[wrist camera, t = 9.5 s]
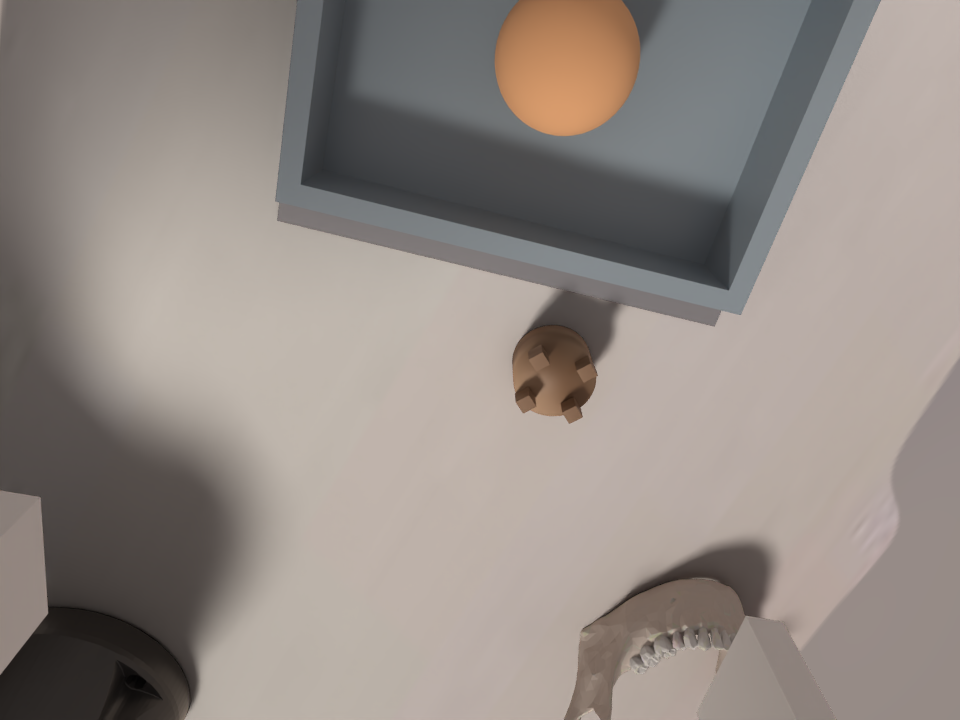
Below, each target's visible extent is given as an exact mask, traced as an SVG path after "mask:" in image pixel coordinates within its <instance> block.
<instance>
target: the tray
mask: <svg viewBox="0 0 960 720" xmlns="http://www.w3.org/2000/svg"><path fill="white" fill-rule="evenodd" d="M518 1H519V0H297V9H296V18H295V27H294V36H293V45H292V54H291V63H290V72H289V81H288V91H287V100H286V109H285V118H284V127H283V136H282V145H281V154H280V163H279V172H278V181H277V190H276V199H275V201H276V202H280V203H284V204H288V205H293V206H297V207H301V208H305V209H309V210H313V211H317V212H321V213H325V214H329V215H333V216H337V217H342V218H346V219H350V220H354V221H358V222H362V223H366V224H370V225H374V226H378V227H382V228H387V229H391V230H395V231H399V232H403V233H407V234H411V235H415V236H419V237H423V238H427V239H432V240H436V241H440V242H444V243H448V244H452V245H456V246H460V247H464V248H468V249H472V250H477V251H481V252H485V253H489V254H493V255H497V256H501V257H505V258H509V259H513V260H517V261H521V262H526V263H530V264H534V265H538V266H542V267H546V268H550V269H554V270H558V271H562V272H566V273H571V274H575V275H579V276H583V277H587V278H591V279H595V280H599V281H603V282H607V283H611V284H616V285H620V286H624V287H628V288H632V289H636V290H640V291H644V292H648V293H652V294H656V295H661V296H665V297H669V298H673V299H677V300H681V301H685V302H689V303H693V304H697V305H701V306H705V307H710V308H714V309H718V310H722V311H726V312H730V313H734V314H738V315H741V313H742V311H743V309H744V307H745V304H746V302H747V300H748V298H749V295H750V293H751V291H752V289H753V286H754V284H755V282H756V280H757V277H758V275H759V273H760V271H761V268H762V266H763V264H764V262H765V259H766V257H767V255H768V253H769V250H770V248H771V246H772V244H773V241H774V239H775V237H776V235H777V232H778V230H779V228H780V226H781V223H782V221H783V219H784V217H785V214H786V212H787V210H788V208H789V205H790V203H791V201H792V199H793V196H794V194H795V192H796V190H797V187H798V185H799V183H800V181H801V178H802V176H803V174H804V172H805V169H806V167H807V165H808V163H809V160H810V158H811V156H812V154H813V151H814V149H815V147H816V145H817V142H818V140H819V138H820V136H821V133H822V131H823V129H824V127H825V124H826V122H827V120H828V118H829V116H830V113H831V111H832V109H833V107H834V104H835V102H836V100H837V98H838V95H839V93H840V91H841V89H842V86H843V84H844V82H845V80H846V77H847V75H848V73H849V71H850V68H851V66H852V64H853V62H854V59H855V57H856V55H857V53H858V50H859V48H860V46H861V44H862V41H863V39H864V37H865V35H866V32H867V30H868V28H869V26H870V23H871V21H872V19H873V17H874V14H875V12H876V10H877V8H878V5H879V3H880V1H881V0H622V1H623V2H624V4H625V5H626V7H627V8H628V9H629V11H630V13H631V15H632V17H633V19H634V22H635V24H636V27H637V31H638V35H639V40H640V64H639V70H638V74H637V78H636V81H635V84H634V86H633V89H632V91H631V93H630V95H629V97H628V98H627V100H626V101H625V103H624V104H623V106H622V107H621V108H620V109H619V110H618V111H617V113H616V114H615V115H614V116H612V117H611V118H610V119H609V120H608V121H606V122H605V123H604V124H602V125H601V126H599V127H597V128H595V129H593V130H591V131H588V132H586V133H583V134H578V135H573V136H555V135H549V134H545V133H542V132H540V131H537V130H535V129H533V128H531V127H529V126H528V125H526V124H525V123H524V122H522V121H521V120H520V119H519V118H518V117H517V116H516V115H515V114H514V113H513V112H512V111H511V109H510V108H509V107H508V105H507V104H506V102H505V100H504V98H503V96H502V94H501V92H500V89H499V86H498V83H497V78H496V73H495V49H496V43H497V39H498V36H499V32H500V30H501V27H502V25H503V23H504V21H505V19H506V17H507V15H508V14H509V12H510V11H511V9H512V8H513V7H514V5H515V4H516V3H517V2H518Z"/></svg>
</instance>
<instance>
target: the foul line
mask: <svg viewBox="0 0 960 720" xmlns="http://www.w3.org/2000/svg"><path fill="white" fill-rule="evenodd" d="M277 221H281V222H285V223H289V224H293V225H297V226H301V227H306V228H310V229H314V230H318V231H322V232H326V233H330V234H335V235H339V236H343V237H347V238H351V239H355V240H359V241H363V242H368V243H372V244H376V245H380V246H384V247H388V248H392V249H396V250H401V251H405V252H409V253H413V254H417V255H421V256H425V257H429V258H434V259H438V260H442V261H446V262H450V263H454V264H458V265H463V266H467V267H471V268H475V269H479V270H483V271H487V272H491V273H496V274H500V275H504V276H508V277H512V278H516V279H520V280H524V281H529V282H533V283H537V284H541V285H545V286H549V287H553V288H557V289H562V290H566V291H570V292H574V293H578V294H582V295H586V296H591V297H595V298H599V299H603V300H607V301H611V302H615V303H619V304H624V305H628V306H632V307H636V308H640V309H644V310H648V311H652V312H657V313H661V314H665V315H669V316H673V317H677V318H681V319H685V320H690V321H694V322H698V323H702V324H706V325H710V326H714V327H715V324H716V322H717V320H718V317H719V315H720V313H721V310H718V309H714V308H710V307H705V306H701V305H697V304H693V303H689V302H685V301H681V300H677V299H673V298H669V297H665V296H661V295H656V294H652V293H648V292H644V291H640V290H636V289H632V288H628V287H624V286H620V285H616V284H611V283H607V282H603V281H599V280H595V279H591V278H587V277H583V276H579V275H575V274H571V273H566V272H562V271H558V270H554V269H550V268H546V267H542V266H538V265H534V264H530V263H526V262H521V261H517V260H513V259H509V258H505V257H501V256H497V255H493V254H489V253H485V252H481V251H477V250H472V249H468V248H464V247H460V246H456V245H452V244H448V243H444V242H440V241H436V240H432V239H427V238H423V237H419V236H415V235H411V234H407V233H403V232H399V231H395V230H391V229H387V228H382V227H378V226H374V225H370V224H366V223H362V222H358V221H354V220H350V219H346V218H342V217H337V216H333V215H329V214H325V213H321V212H317V211H313V210H309V209H305V208H301V207H297V206H293V205H288V204H284V203H280V202H279V209H278V218H277Z"/></svg>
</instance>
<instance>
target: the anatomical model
mask: <svg viewBox="0 0 960 720" xmlns="http://www.w3.org/2000/svg"><path fill="white" fill-rule="evenodd" d="M744 618H745V614H744V611H743V607H742V604H741V601H740V599H739V597H738V595H737V594H736V592H735V591H734V590H733V589H732V588H731V587H729V586H726V585H724V584H721V583H718V582H715V581H712V580H706V579H681V580H676V581H671V582H668V583H665V584H662V585H659V586H656V587H654V588H652V589H650V590H648V591H645V592H642V593H639V594H638V595H636V596H634V597H632V598H631V599H629V600H628V601H626V602H625V603H623V604H622V605H620V606H619V607H618V608H616V609H615V610H613V611H612V612H611V613H609V614H608V615H606V616H604V617H602V618H600V619H598V620H596V621H595V622H593V623H592V624H591V625H590V626H587V627H585V628H584V629H583V630H582V631H581V634H580V643H579V654H578V672H577V681H576V685H575V690H574V693H573V696H572V700H571V703H570V706H569V708H568V711H567V713H566V716H565V718H564V720H580V719H581V716H583V715H585V714H587V713H589V712H591V711H595V712H596V714H597V715H598V716H599V718H600V719H601V720H610V719H611V711H612V689H613V686H614V685H615V683H616V681H617V679H618V678H619V677H620V676H621V675H622V674H623V673H625V672H627V671H629V670H630V669H632V670H633V671H634V672H635V673H636V674H644V673H645V672H646V670H647V669H648V668H649V666H650V667H655V666H656V665H657V663H658V662H659V661H660V659H661V657H662V658H667V659H669V657H670V656H675V655H676V649H677V650H680V649H681V650H682V651H683V650H685V649H686V647H687V648H690V649H693V650H695V649H696V648H697V647H699V648H700V649H702V650H704V651H706V650H708V649H709V648H710V647H711V643H710V638H709V635H710V637H711V641H712V647H713V648H714V649H716V650H720V651H719V656H718V661H717V666H716V673H717V671H718V669H719V667H720V665H721V664H722V662H723V660H724V658H725V656H726V654H727V652H728V650H729V648H730V646H731V644H732V642H733V640H734V638H735V636H736V634H737V632H738V630H739V628H740V626H741V624H742V622H743V620H744ZM695 635H698V640H697V639H696V636H695ZM683 636H684V637H683ZM672 642H673V643H672Z"/></svg>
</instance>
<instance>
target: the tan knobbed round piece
mask: <svg viewBox="0 0 960 720" xmlns="http://www.w3.org/2000/svg"><path fill="white" fill-rule="evenodd" d="M512 364H513V382H514V389H515V392H516V393H515V398H516V403H517V405H518V406H519V408H520V409H521V411H522V412H523V413H525V412H527V411H529V410H532V411H533V412H536V413H538V414H541V415H546V416H561V415H564V416H565V418H566V419H567V421H568V423H569V424H570V423H572V422H574V421H576V420H578V419H580V418H582V417H583V416H582V412H581V408H580V407H581V406H583V405H584V404H585V403H586V402H587V401H588V399H589V398H590V397H591V395H592V393H593V391H594V388H595V384H596V376H598V375H597V372H596V369H595V366H594V365H593V362H592V358H591V355H590V352H589V349H588V346H587V344H586V342H585V341H584V340H583V338H582V337H581V336H580V335H579V334H577V333H576V332H575V331H573V330H571V329H569V328H566V327H563V326H558V325H547V326H542V327H539V328H536V329H534V330H532V331H530V332H529V333H527V334H526V335H525V336H524V337H523V338H522V339H521V340H520V341H519V343H518V344H517V346H516V348H515V350H514V353H513V360H512Z"/></svg>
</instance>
